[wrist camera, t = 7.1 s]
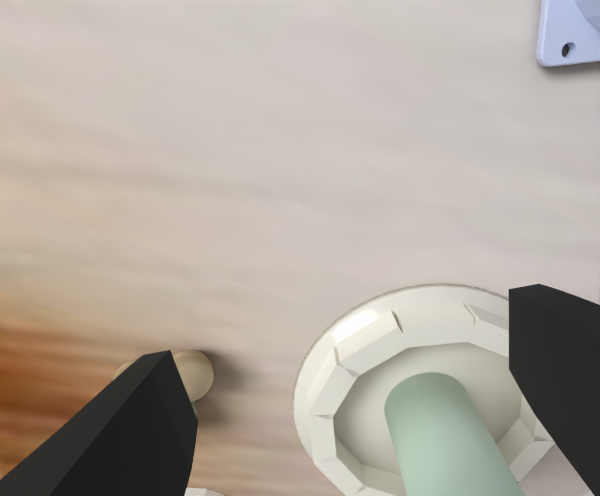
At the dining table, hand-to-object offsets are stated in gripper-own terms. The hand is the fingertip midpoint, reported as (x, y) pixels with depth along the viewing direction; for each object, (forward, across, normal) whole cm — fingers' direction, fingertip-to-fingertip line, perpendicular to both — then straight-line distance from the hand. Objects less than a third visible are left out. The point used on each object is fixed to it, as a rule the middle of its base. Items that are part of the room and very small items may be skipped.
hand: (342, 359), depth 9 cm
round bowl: (+10, -4, +11) cm, 15 cm away
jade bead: (+9, -4, +11) cm, 15 cm away
